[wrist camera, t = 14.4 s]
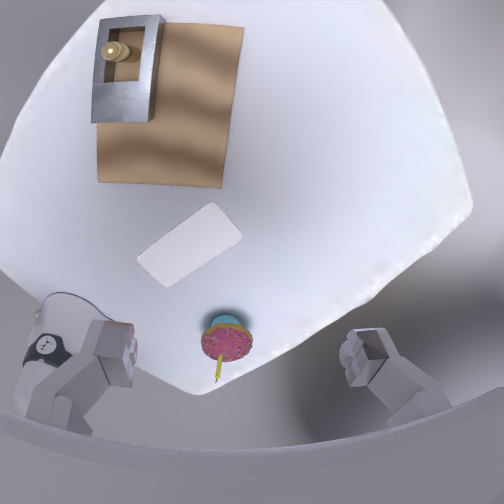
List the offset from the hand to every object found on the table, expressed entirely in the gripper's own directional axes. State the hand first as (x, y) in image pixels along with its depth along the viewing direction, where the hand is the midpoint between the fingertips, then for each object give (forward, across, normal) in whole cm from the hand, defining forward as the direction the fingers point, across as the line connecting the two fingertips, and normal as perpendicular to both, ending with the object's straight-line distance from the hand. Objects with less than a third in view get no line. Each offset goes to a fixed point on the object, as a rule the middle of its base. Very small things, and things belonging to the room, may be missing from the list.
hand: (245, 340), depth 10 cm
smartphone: (+30, -4, -15) cm, 34 cm away
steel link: (+28, -12, +9) cm, 31 cm away
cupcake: (+29, +3, -30) cm, 42 cm away
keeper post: (+28, -12, +11) cm, 32 cm away
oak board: (+29, -8, +5) cm, 31 cm away
